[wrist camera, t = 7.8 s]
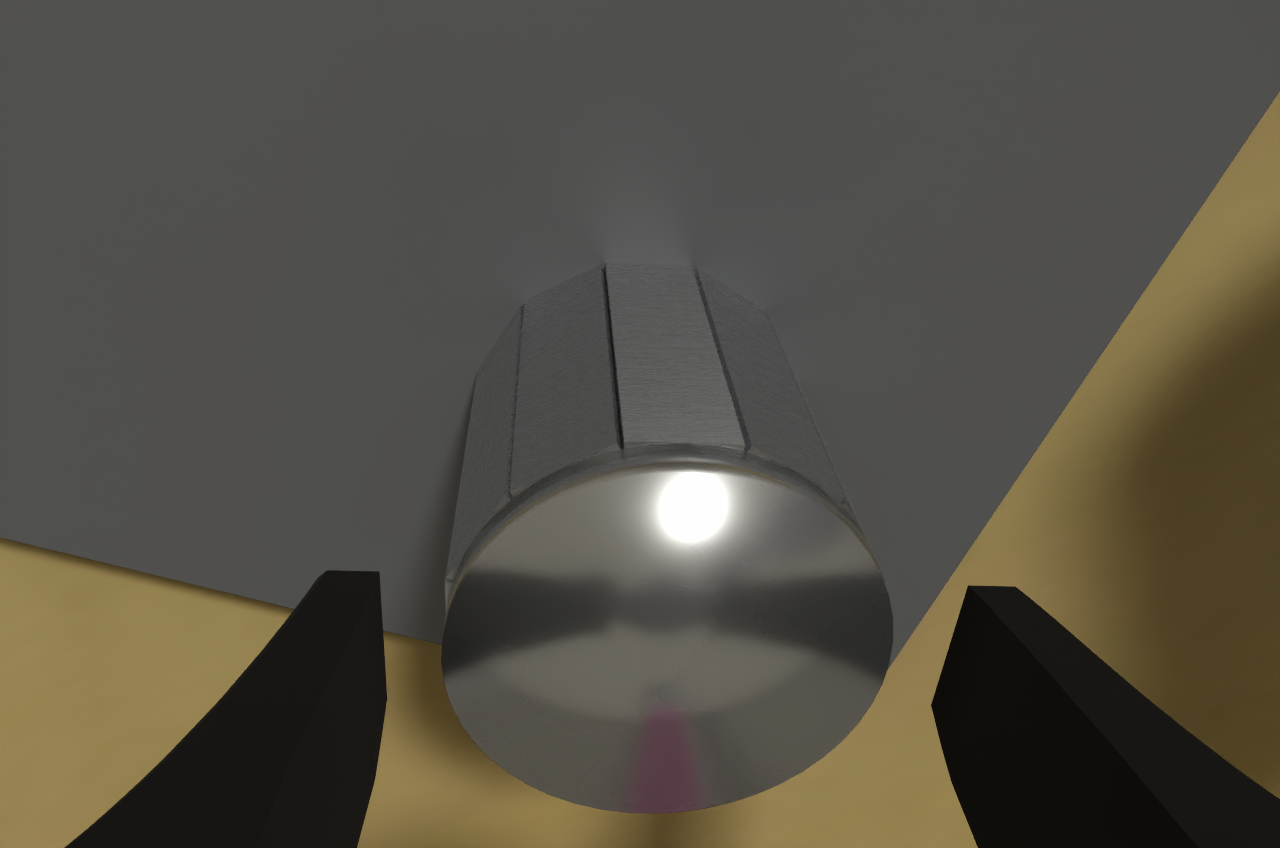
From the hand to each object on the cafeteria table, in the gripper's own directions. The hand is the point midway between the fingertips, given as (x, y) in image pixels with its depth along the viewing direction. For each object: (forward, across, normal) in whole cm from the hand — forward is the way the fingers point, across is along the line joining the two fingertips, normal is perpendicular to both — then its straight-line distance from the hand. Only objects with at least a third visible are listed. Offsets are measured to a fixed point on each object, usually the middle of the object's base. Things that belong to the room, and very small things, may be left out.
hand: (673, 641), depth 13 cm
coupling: (+6, 0, 0) cm, 6 cm away
